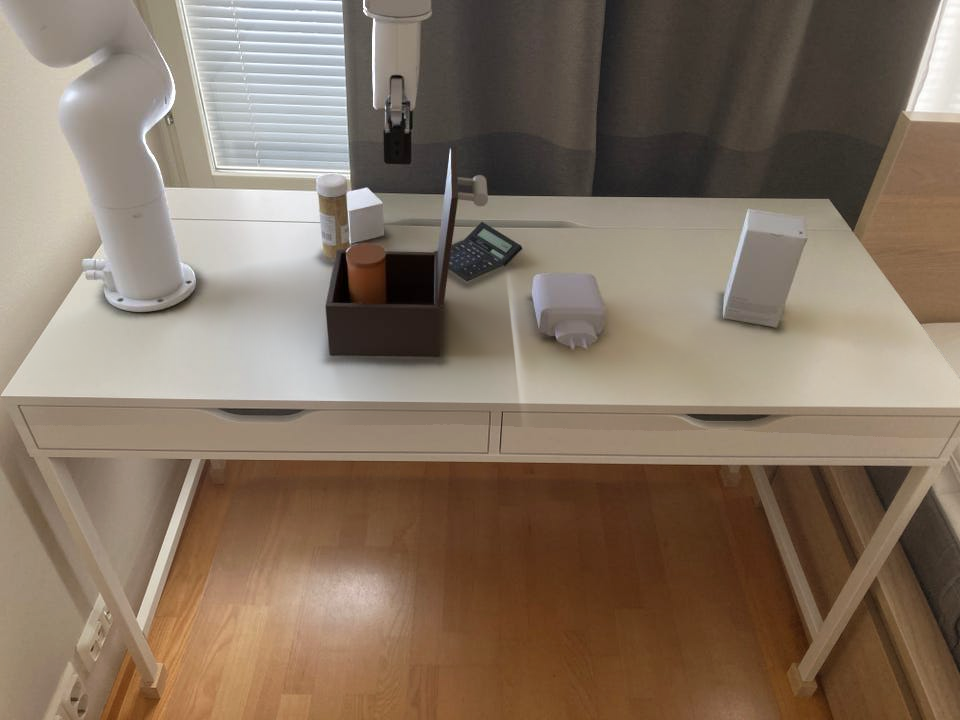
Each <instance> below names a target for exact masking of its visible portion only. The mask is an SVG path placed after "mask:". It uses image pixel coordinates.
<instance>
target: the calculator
mask: <svg viewBox="0 0 960 720" xmlns="http://www.w3.org/2000/svg"><path fill="white" fill-rule="evenodd" d="M522 250H523V247H522V245H521V244H520V243H518V242H516V241H515V240H513V239H511V238H510V237H508V236H506V235H505V234H503V233H501V232H499V230H496V229H494V228H493V227H492V226H490V225H489V224H487V223H485V222H483V221H481V222H480V223H479V224H478V225H477V226H476V227H475V228H474V229H473V230H472V231H471V232H470V233H469V234H468V235H467V236H466V237H465V238H464V239H463V240H460V241H458V242H454V243H452V247H451V254H450V262H449V269H448V270H449V271H451V272H453V273H454V274H455V275H457V276H459V277H460V278H462V279H463V280H465V281H466V282H468V281H471V280H473V279H475V278H477V277H480V276H482V275H484V274H486V273H489V272H491V271H493V270H496V269H498V268H500V267H502V266H504V267H506V266H507V265H508V264H509V263H510V262H511V261H512V260H513V259H514V258H516V256H517V255H518V254H519V253H520V252H521V251H522ZM434 252H438V250H435V251H434Z"/></svg>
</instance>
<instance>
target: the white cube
mask: <svg viewBox="0 0 960 720" xmlns="http://www.w3.org/2000/svg"><path fill="white" fill-rule="evenodd" d="M346 196H347V210H348V221H349V234H350V238H349V240H350V245H351V244H357V243H361V242H364V241H367V240H371V239H376V238H379V237H384V236H385V227H384V226H385V225H384V223H385V222H384V221H385V219H384V203H383V201H381V199H380V198H379V197H378V196H377V195H375V193H373V192H372V191H371V190H370V189H369V187H364V188H358V189H354V190H349V191H347V194H346Z"/></svg>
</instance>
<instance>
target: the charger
mask: <svg viewBox="0 0 960 720" xmlns="http://www.w3.org/2000/svg"><path fill="white" fill-rule="evenodd" d="M532 281H533V282H532V290H531V297H532V302H533V307H534V312H535V317H536V318H535V319H536V323H537V326H538V327H537V328H538V331H539V332H540V333H541V334H544V335H545V336H549V337H555V339H556V341H557V342H558V343H560V344H562V345H565V346H566V347H570V349H571V350H575V349H576V347H583V350H588V348H589V347H588V345H590V344H593V343H595V342H597V340H598V337H597V335H599V334H600V333H602V332H603V331H604V327H605V321H606V316H607V310H606V307H605V304H604V301H603V298H602V294H601V291H600V288H599V285H598V282H597V278H596V276H595V275H594V274H592V273H586V272H541V273H537V274H536V275H534V277H533V280H532Z"/></svg>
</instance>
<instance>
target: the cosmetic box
mask: <svg viewBox="0 0 960 720" xmlns="http://www.w3.org/2000/svg"><path fill="white" fill-rule="evenodd" d="M807 241H808V230H807V224H806V217H805V216H799V215H793V214H792V215H791V214H787V213H779V212H772V211H766V210H760V209H759V210H758V209H754V208H748V209H747V212H746V215H745V219H744V223H743V226H742V230H741V234H740V237H739V240H738V244H737V248H736V251H735V255H734V259H733V263H732V266H731V270H730V273H729V277H728V281H727V285H726V287H725V291H724V295H723V305H722V306H723V307H722V308H723V309H722V318H723V319H725V320H732V321H736V322H743V323H748V324H755V325H759V326H765V327H771V328H775V329H777V328H778V326H779V323H780V321H781V317H782V314H783V310H784V309H785V306H786V302H787V300H788V296H789V293H790V290H791V287H792V284H793V281H794V278H795V276H796V272H797V269H798V266H799V263H800V261H801V257H802V254H803V252H804V248H805V246H806V243H807Z"/></svg>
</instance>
